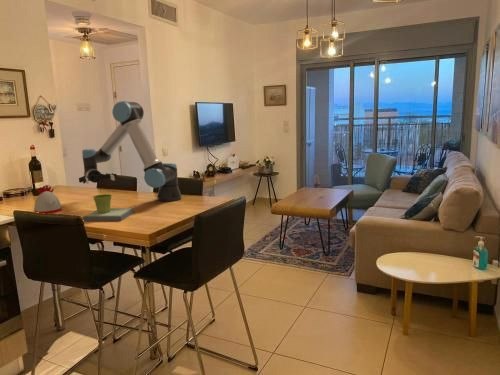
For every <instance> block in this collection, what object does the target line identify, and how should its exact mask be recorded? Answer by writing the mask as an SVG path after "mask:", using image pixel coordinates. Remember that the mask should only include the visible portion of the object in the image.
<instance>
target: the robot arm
mask: <svg viewBox="0 0 500 375" xmlns="http://www.w3.org/2000/svg"><path fill="white" fill-rule="evenodd" d="M144 114H145V112H144V109H143V107H142V105H141V104H140V103H138V102H135V101H126V100H123V101H118V102H116V103H115V104H114V105H113V108H112V116H113V119H114V120H116V121H117V122H119V124H118V126H117V127H116V128H115V129H114V131H112V133H111V134H110V135H109V137H108V138H107V139H106V140H105V142H104V143H103V144H102V146H101V147H100V148H99V149H98V150H96V149H94V148H87V149H86V148H85V149H82V150H81V153H82V157H81V158H82V162H83V169H84V170H83V176H81V177H79V178H78V182H79V183H82V184H89V183H90V182H91V183H94V184H96V183H99V182H101V180H110V181H114V182H115V181H116V179H117V178H118V176H117V173H113V172H112V173H107V172H105V173H101V171H100V170H98V164H101V163H105V162H108V161H110V160H111V158H112V154H113V152H115V150H116V149H117V148H118V147H119V145H120V144H121V143H122V142H123V141H124V139H125V138H126V137H127V136H129V137H130V139H131V142H132V143H133V146H134V147H135V149H136V152H137V154H138V155H139V158H140V160H141V162H142V164H143V169H142V170H143V172H144V176H143V179H144V182H145V184H146V185H147V186H149V187H151V188H154V189H157V188H158V192H157V195H156V198H157V199H156V200H157V201H158V202H176V201H179V200H181V199H182V194H181V191H180V188H179V182H178V166H177V164H176V163H163V161H162V160H159V159H158V158H157V155H156V153H155V152H154V149H153V148H152V145H151V143H150V141H149V139H148V137H147V135H146V133H145V131H144V129H143V127H142V125H141V122H142V119H143V118H144Z"/></svg>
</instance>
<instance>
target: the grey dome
mask: <svg viewBox="0 0 500 375" xmlns="http://www.w3.org/2000/svg"><path fill="white" fill-rule="evenodd" d="M37 192H38V193H39V194H38V196H37V197H36V199H35V200H34V201H35V202H34V207H33V212H39V213H51V214H56V213H59V212H61V211H63V209H62V204H61V202H60V200H59V198H58V197H57V195H55V193H53V192H54V188H52V189H51V186H49V187H48V185H46V186H44V185H43V187H41V186H39V189H37Z"/></svg>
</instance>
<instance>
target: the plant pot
mask: <svg viewBox="0 0 500 375" xmlns="http://www.w3.org/2000/svg"><path fill="white" fill-rule="evenodd" d="M112 197H113V195H112V194H109V193H108V194H107V193H105V194H97V195H94V196H92V198H93V201H94V203H95V206H96V210H97V211H98V213H107V212H110V208H111V202H112Z"/></svg>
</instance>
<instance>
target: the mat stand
mask: <svg viewBox="0 0 500 375" xmlns="http://www.w3.org/2000/svg"><path fill="white" fill-rule="evenodd" d="M134 213H135V208H132V207H124V208H123V207H118V208H117V207H116V208H114V207H113V208H112V207H110V212H107V213H98V211H97V209H96V210H93V211H91V212H89V213H87V214H86V215H84V216H83V217H82V221H83V220H84V221H83V222H122V221H123V220H125V219H127V218H128V217H130V216H132V214H134Z"/></svg>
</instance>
